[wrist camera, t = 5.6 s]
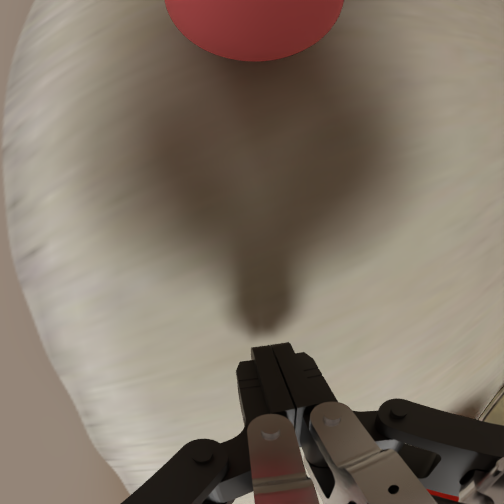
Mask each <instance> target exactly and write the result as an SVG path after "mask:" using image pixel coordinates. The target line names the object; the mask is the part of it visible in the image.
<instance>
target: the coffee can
mask: <svg viewBox="0 0 504 504" xmlns="http://www.w3.org/2000/svg"><path fill="white" fill-rule="evenodd" d="M479 420H480V421H484V422H489V423H493V424H498V425H503V426H504V387H503V388H502V389H501V390H500V391H499V392H498V394H497V395H496V396H495V397H494V399H493V400H492V401H491V403H490V404H489V405H488V407H487V408H486V409H485V411H484V412H483V414H482V415H481V417H480V418H479Z"/></svg>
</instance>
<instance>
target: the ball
mask: <svg viewBox="0 0 504 504" xmlns="http://www.w3.org/2000/svg"><path fill="white" fill-rule="evenodd" d="M343 2H344V0H165V4H166V8H167V11H168V13H169V15H170V17H171V19H172V21H173V22H174V24H175V25H176V27H177V28H178V29H179V30H180V31H181V33H182V34H183V35H184V36H185V37H187V38H188V39H189V40H190V41H191V42H193V43H194V44H196V45H197V46H199V47H200V48H202V49H204V50H206V51H208V52H210V53H213V54H215V55H218V56H221V57H225V58H229V59H234V60H240V61H253V62H255V61H270V60H276V59H280V58H285V57H288V56H291V55H294V54H296V53H299V52H301V51H303V50H305V49H307V48H309V47H310V46H312V45H313V44H315V43H316V42H318V41H319V40H320V39H321V38H323V37H324V36H325V35H326V34H327V33H328V32H329V30H330V29H331V28H332V26H333V25H334V24H335V22H336V20H337V19H338V17H339V15H340V12H341V9H342V6H343Z"/></svg>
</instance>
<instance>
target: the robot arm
mask: <svg viewBox="0 0 504 504" xmlns="http://www.w3.org/2000/svg"><path fill="white" fill-rule="evenodd" d="M251 359H252V360H250V361H242V362H240V363H239V365H238V368H237V370H236V375H237V384H238V393H239V400H240V405H241V411H242V415H243V421H244V426H245V427H244V429H243V431H242V432H241V433H240V434H239V435H238V436H236V437H235V438H233V439H231V440H228V441H226V442H223V443H218V442H217V441H214V440H210V439H197V440H193V441H191V442H189V443H187V444H186V445H184V446H183V447H182V448H181V449H180V450H179V451H178V452H177V453H176V454H175V455H174V456H173V457H172V458H171V459H170V460H169V461H168V462H167V463H166V464H165V465H164V466H163V467H162V468H160V469H159V470H158V471H157V472H156V473H155V474H154V475H153V476H152V477H151V478H150V479H148V480H147V481H146V482H145V483H144V484H143V485H142V486H141V487H140V488H138V489H137V490H136V491H135V492H134V493H133V494H132V495H130V496H129V497H128V498H127V499H126V500H125V501H123V502H122V503H121V504H232V503H233V502H234V500H235V498H238V497H240V496H243V495H245V494H248V493H250V492H252V491H254V499H255V504H319V501H318V497H317V494H316V490H315V487H316V489H317V491H318V493H319V495H320V497H321V499H322V501H323V504H504V426H503V425H498V424H493V423H489V422H484V421H480V420H476V419H471V418H467V417H463V416H459V415H456V414H452V413H448V412H444V411H441V410H437V409H434V408H430V407H427V406H424V405H420V404H417V403H414V402H411V401H407V400H404V399H391V400H388V401H386V402H384V403H383V404H382V405H381V406H380V408H379V410H378V411H366V412H357V411H352V410H351V409H350V408H349V407H348V406H347V405H345V404H343V403H340V402H338V401H337V400H336V398H335V396H334V394H333V393H332V391H331V389H330V387H329V386H328V384H327V382H326V380H325V379H324V377H323V376H322V373H321V372H320V370H319V369H318V366H317V365H316V363H315V361H314V360H313V358H311V357H310V356H309V355H307V354H306V353H304V352H302V353H296V354H295V352H294V350H293V348H292V346H291V344H290V343H289V342H287V343H281V344H274V345H267V346H260V347H252V348H251ZM405 443H406V444H405ZM408 444H409V445H408ZM411 445H412V446H411ZM414 446H415V447H414ZM299 447H302V449H303V452H304V464H303V460H302V456H301V452H300V449H299ZM417 447H418V448H417ZM420 448H421V449H420ZM424 449H425V450H424ZM427 450H428V451H427ZM304 465H305V467H306V469H307V471H308V473H309V475H310V477H311V478H308V477H307V474H306V471H305V467H304ZM313 483H314V484H313ZM314 485H315V487H314ZM426 489H429V490H433V491H437V492H440V493H444V494H449V495H453V496H458V497H459V501H458V502H457V501H453V500H449V499H446V498H442V497H439V496H435V495H431V494H430V493H429V492H428V491H427V490H426Z"/></svg>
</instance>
